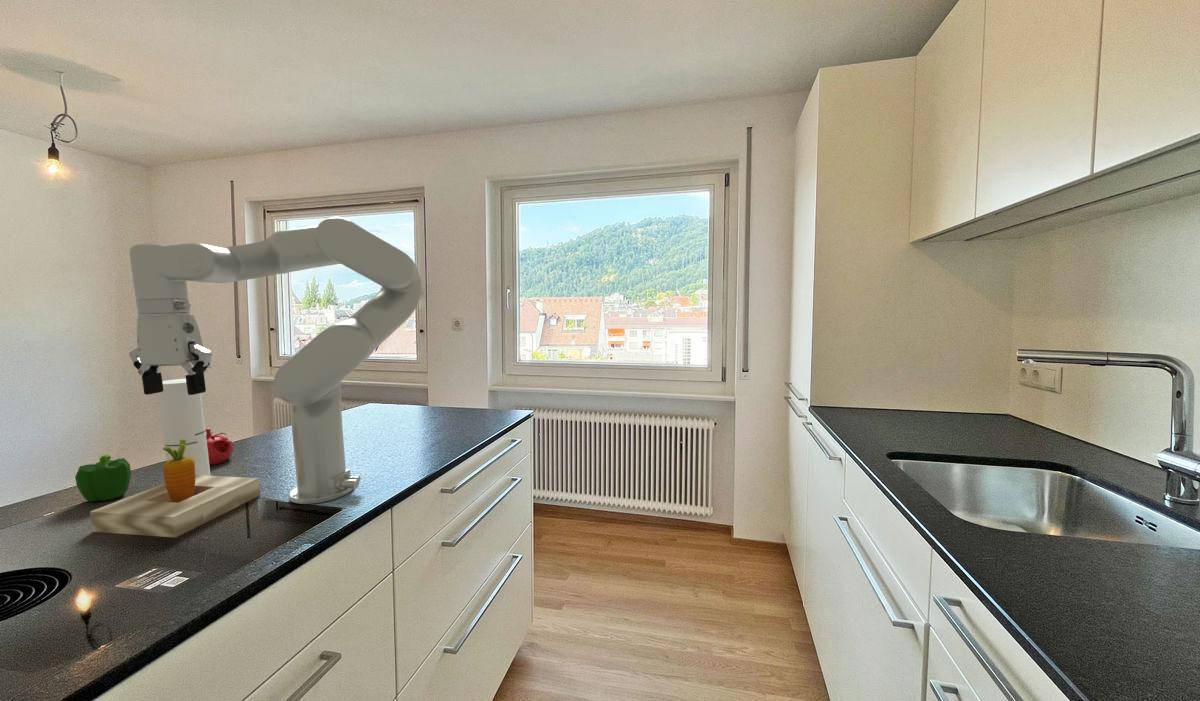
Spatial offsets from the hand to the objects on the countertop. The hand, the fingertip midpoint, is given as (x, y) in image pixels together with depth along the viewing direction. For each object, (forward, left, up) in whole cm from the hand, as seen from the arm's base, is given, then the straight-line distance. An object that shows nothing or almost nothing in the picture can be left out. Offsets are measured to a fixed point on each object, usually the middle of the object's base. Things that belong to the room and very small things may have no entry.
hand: (175, 393), depth 92 cm
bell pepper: (+24, -3, -25) cm, 35 cm away
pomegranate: (+22, -25, -25) cm, 42 cm away
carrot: (0, +1, -25) cm, 25 cm away
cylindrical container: (+12, -11, -25) cm, 30 cm away
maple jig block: (0, +1, -25) cm, 25 cm away
